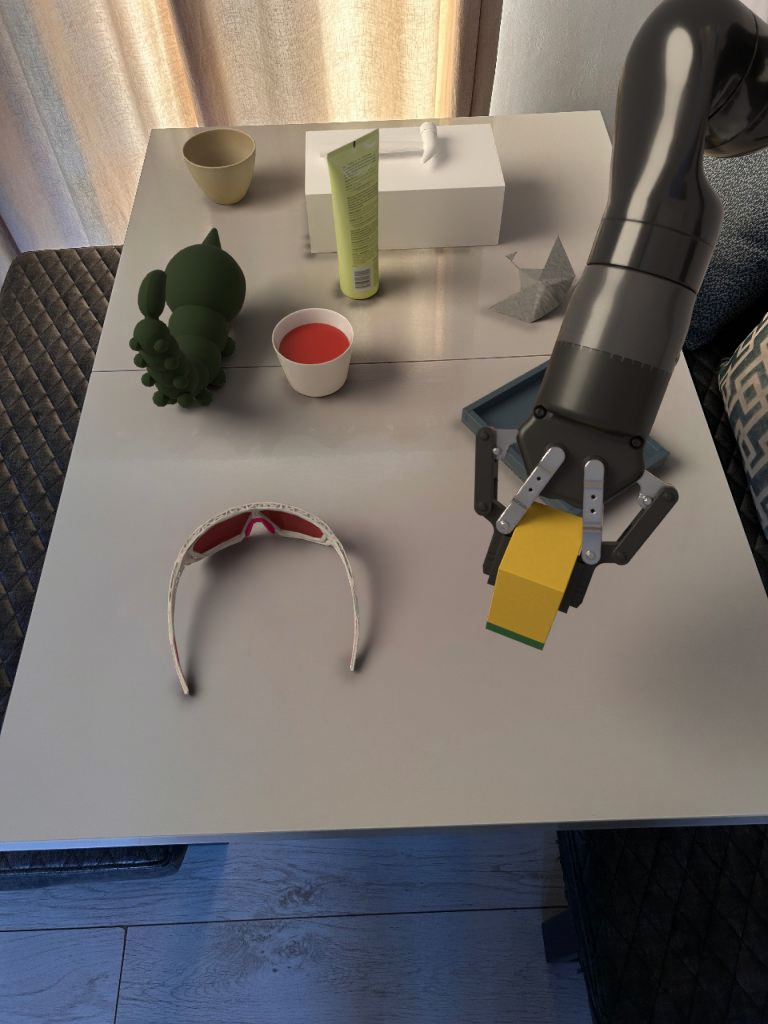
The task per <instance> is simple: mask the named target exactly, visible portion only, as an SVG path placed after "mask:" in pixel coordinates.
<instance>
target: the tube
mask: <svg viewBox="0 0 768 1024" xmlns="http://www.w3.org/2000/svg"><path fill="white" fill-rule="evenodd" d="M374 129H375V130H373V131H371V132H369V133H367V134H365V135H363V136H361V137H359V138H357V139H355V140H353V141H351V142H349V143H347V144H345V145H343V146H341V147H339V148H337V149H334V150H332V151H330V152H328V153H327V164H328V170H329V176H330V184H331V192H332V201H333V210H334V220H335V230H336V241H337V251H338V252H337V262H338V274H339V276H338V277H339V286H340V292H342V294H343V295H344V296H346V297H348V298H350V299H354V300H363V299H367V298H370V297H372V296H374V295H375V294H377V292H378V290H379V287H380V279H379V278H380V274H379V271H380V269H379V266H380V265H379V250H378V170H379V127H377V129H376V128H374Z"/></svg>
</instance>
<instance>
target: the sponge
mask: <svg viewBox="0 0 768 1024" xmlns="http://www.w3.org/2000/svg"><path fill="white" fill-rule="evenodd" d="M582 521H583V518H582V517H579V516H576V515H573V514H570V513H567V512H564V511H562V510H559V509H556V508H553V507H550V506H547V505H546V504H545V503H541V502H538V501H536V500H535V501H534V502H533V504H532V505H531V506H530V508H529V509H528V510H527V511H526V513H525V514H524V516H523V517H522V518H521V520H520V521H519V522H518V524H517V526H516V528H515V530H514V533H513V535H512V537H511V540H510V542H509V545H508V547H507V549H506V552H505V554H504V557H503V559H502V561H501V564H500V566H499V569H498V573H497V578H496V582H495V586H493V587H494V588H493V592H492V597H491V601H490V606H489V610H488V614H487V620H486V623H485V626H484V627H485V630H488V631H490V632H493V633H495V634H497V635H500V636H503V637H506V638H508V639H510V640H512V641H513V640H514V641H516V642H517V643H518V642H519V643H520V644H523V645H526V646H529V647H531V648H534V649H536V650H539V651H543V650H544V648H545V645H546V642H547V640H548V637H549V635H550V632H551V629H552V627H553V624H554V621H555V619H556V616H557V614H558V612H559V611H558V609H559V606H560V603H561V601H562V598H563V596H564V593H565V590H566V588H567V585H568V582H569V579H570V576H571V574H572V571H573V568H574V565H575V562H576V560H577V557H578V555H580V552H581V549H582Z"/></svg>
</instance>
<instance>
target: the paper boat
mask: <svg viewBox="0 0 768 1024" xmlns="http://www.w3.org/2000/svg"><path fill="white" fill-rule="evenodd" d="M517 254H518V251H515V252H512V253H510V254H506V255H505V258H506V259H508V261H510V263H512V265H514V266H515V267H516V268H517V269H518V271H519V274H518V275H519V285H520V290H518V291H517V292H515V293H513V294H512V295H510V296H508V297H506V298H504V299H503V300H500V301H499V302H497V303H496V304H493V305H491V306H490V307H488V308H487V309H488V310H491V311H494V312H497V313H499V314H503V315H506V316H509V317H512V318H516V319H519V320H522V321H524V322H527V323H533V322H535V321H537V320H540V318H543V317H544V316H545V315H547V314H548V313H550V312H552V311H553V310H554V309H556V308H557V307H559V306H560V305H561V303H562V301H563V300H564V298H565V297H566V295H567V294H568V292H569V290H570V289H571V287H572V285H573V283H574V281H575V278H576V277H577V276H576V273H575V270H574V268H573V266H572V264H571V263H572V262H571V261H570V259H569V256H568V254H567V251H566V249H565V247H564V245H563V243H562V239H561V238H560V235H559V234H557V236H556V238H555V241H554V243H553V246H552V248H551V250H550V253H549V255H548V256H547V257H548V258H547V259H546V262H545V265H544V267H543V268H525V267H524V268H522V267H521V268H520V267H519V266H518V265H517V264H516V263H514V261H513V260H514V258H515V257H516V255H517Z"/></svg>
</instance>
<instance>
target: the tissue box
mask: <svg viewBox="0 0 768 1024" xmlns="http://www.w3.org/2000/svg"><path fill="white" fill-rule="evenodd" d="M377 128H379V127H377ZM377 128H358V129H357V128H355V129H354V128H353V129H333V130H331V129H329V130H309V131H306V130H305V160H304V161H305V162H304V163H305V165H304V166H305V169H304V175H305V177H304V197H305V206H306V215H307V225H308V233H309V242H310V252H311V254H324V253H325V254H326V253H338V251H337V241H336V230H335V220H334V210H333V201H332V192H331V184H330V176H329V170H328V164H327V153H328V152H330V151H332V150H334V149H337V148H339V147H341V146H343V145H345V144H347V143H349V142H351V141H353V140H355V139H357V138H359V137H361V136H363V135H365V134H367V133H369V132H371V131H373V130H375V129H377ZM495 141H496V140H495V137H494V134H493V129H492V125H491V123H474V124H451V125H450V124H448V125H436V123H435V122H433V121H423V122H422V123H421V125H420V126H401V127H382V128H381V127H380V128H379V170H378V251H392V250H408V249H409V250H411V249H412V250H413V249H432V248H433V249H435V248H437V249H438V248H456V247H457V248H459V247H478V246H479V247H480V246H481V247H482V246H497V245H499V238H500V232H501V231H500V230H501V223H502V216H503V206H504V199H505V191H506V183H505V179H504V175H503V170H502V166H501V163H500V158H499V153H498V150H497V146H496V142H495Z"/></svg>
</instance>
